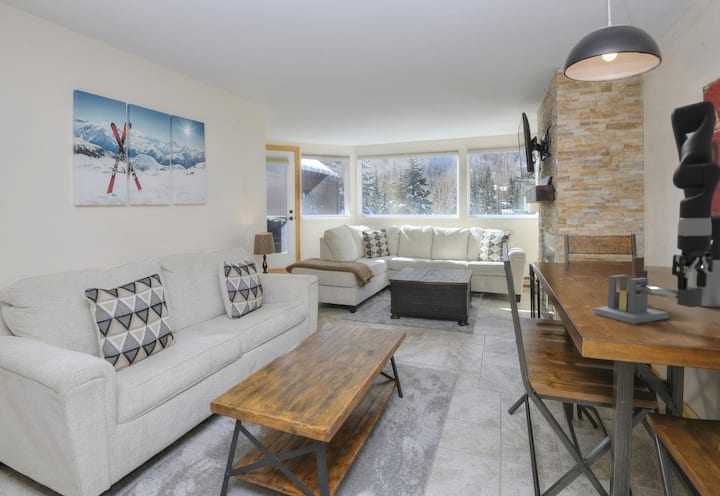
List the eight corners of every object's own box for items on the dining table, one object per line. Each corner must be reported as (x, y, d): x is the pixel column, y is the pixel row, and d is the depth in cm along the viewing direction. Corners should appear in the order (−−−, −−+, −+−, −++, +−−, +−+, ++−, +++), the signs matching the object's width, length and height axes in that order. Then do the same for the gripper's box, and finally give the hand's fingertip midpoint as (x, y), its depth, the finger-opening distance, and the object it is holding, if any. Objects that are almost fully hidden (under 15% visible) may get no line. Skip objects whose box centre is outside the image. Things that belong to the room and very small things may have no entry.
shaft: (642, 295, 132) (643, 280, 131) (701, 305, 116) (702, 289, 115) (634, 296, 131) (634, 281, 130) (692, 307, 115) (693, 290, 114)
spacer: (633, 308, 137) (634, 288, 136) (640, 309, 134) (641, 289, 134) (619, 310, 134) (619, 290, 134) (626, 312, 132) (626, 291, 131)
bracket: (626, 308, 144) (627, 273, 143) (667, 318, 131) (669, 278, 129) (594, 313, 138) (594, 276, 137) (633, 323, 125) (634, 282, 124)
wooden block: (634, 308, 144) (635, 259, 142) (629, 302, 153) (631, 256, 152) (646, 309, 142) (648, 260, 141) (641, 303, 152) (643, 256, 150)
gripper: (695, 231, 121) (693, 283, 122) (663, 234, 116) (661, 288, 118) (725, 232, 114) (722, 288, 115) (692, 235, 109) (690, 293, 111)
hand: (691, 288), depth 116 cm, fingers open, 8 cm apart
